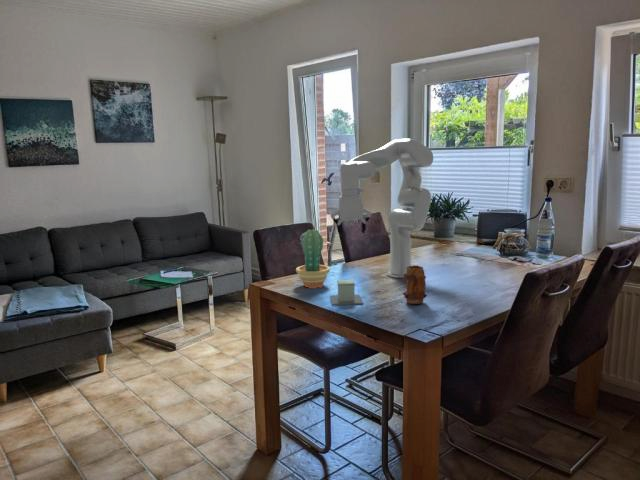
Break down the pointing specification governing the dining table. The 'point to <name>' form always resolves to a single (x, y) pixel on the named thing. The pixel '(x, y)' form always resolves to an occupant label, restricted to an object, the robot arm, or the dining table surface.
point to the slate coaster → (336, 301)
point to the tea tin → (346, 290)
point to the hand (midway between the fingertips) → (351, 233)
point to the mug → (415, 285)
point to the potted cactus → (312, 260)
